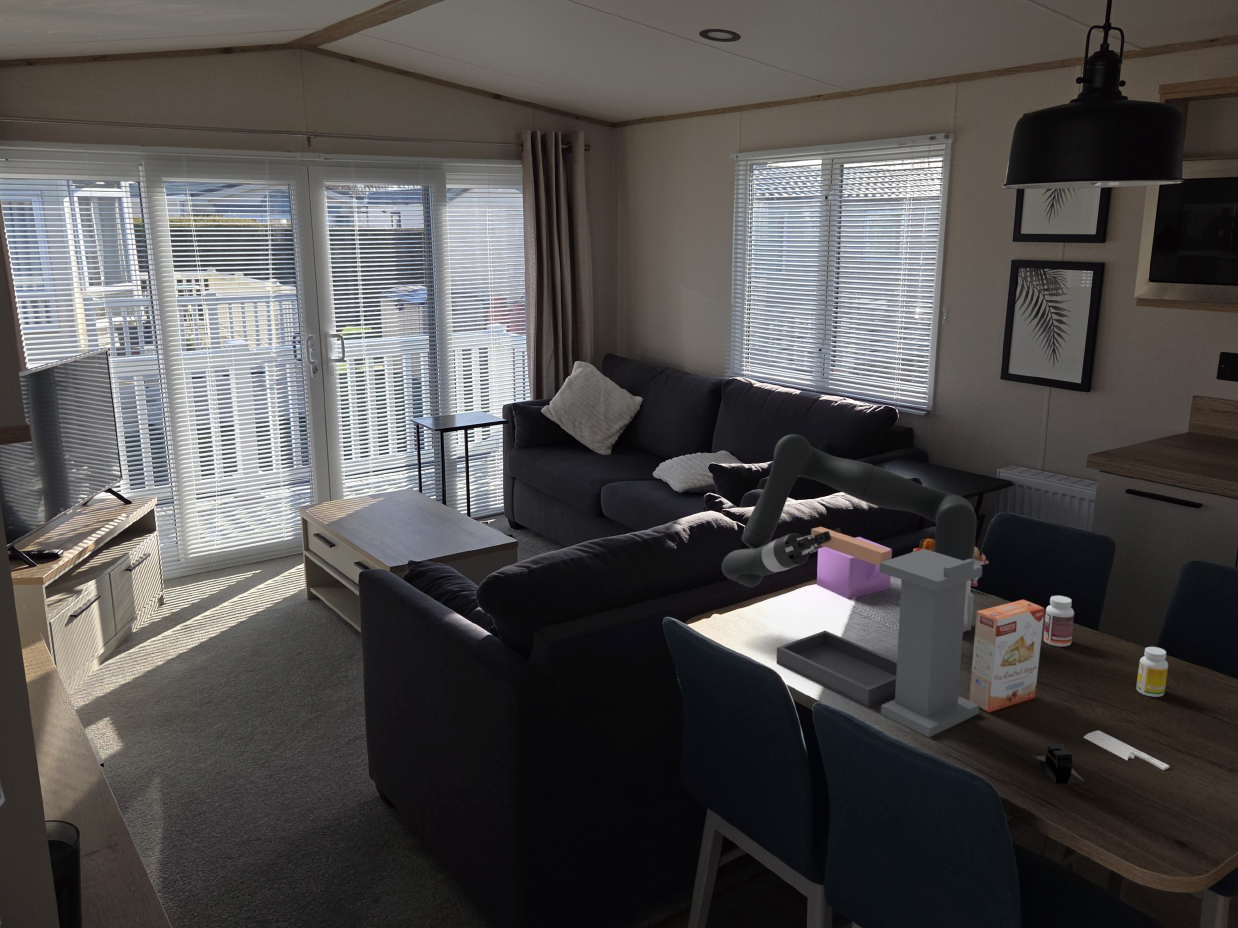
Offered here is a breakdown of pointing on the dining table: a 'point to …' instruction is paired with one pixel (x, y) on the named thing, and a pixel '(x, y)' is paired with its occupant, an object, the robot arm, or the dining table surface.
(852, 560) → the teapot
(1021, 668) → the cracker box
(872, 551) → the bar
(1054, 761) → the black knife sharpener
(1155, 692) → the supplement bottle
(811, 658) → the tray
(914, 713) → the stand
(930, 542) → the doll family
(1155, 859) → the dining table surface
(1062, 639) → the pill bottle
